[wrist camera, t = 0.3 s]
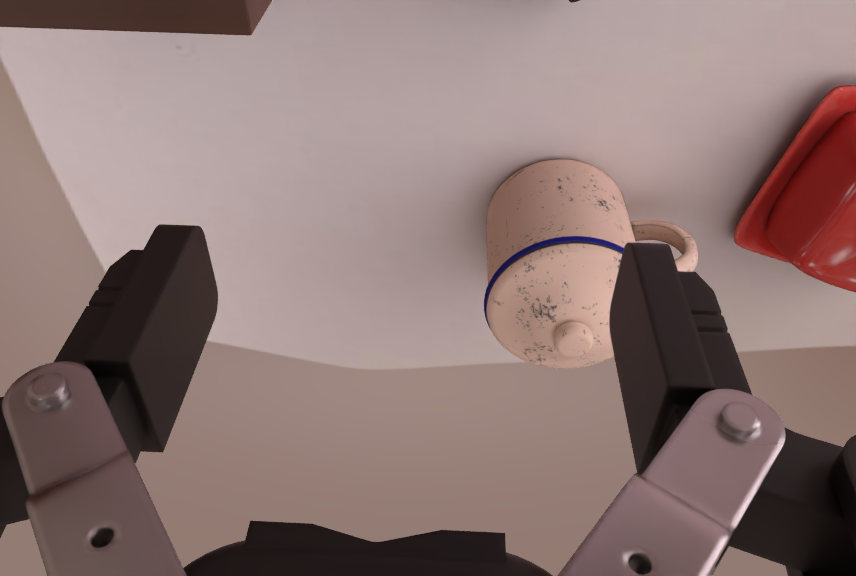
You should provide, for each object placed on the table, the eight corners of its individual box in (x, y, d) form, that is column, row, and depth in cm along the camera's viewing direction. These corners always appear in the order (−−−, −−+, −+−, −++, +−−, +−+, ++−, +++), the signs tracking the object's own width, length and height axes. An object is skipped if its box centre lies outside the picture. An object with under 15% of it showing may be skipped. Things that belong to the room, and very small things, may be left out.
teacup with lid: (494, 280, 50) (499, 413, 41) (470, 166, 44) (470, 291, 35) (676, 255, 48) (723, 389, 39) (676, 132, 42) (730, 256, 33)
